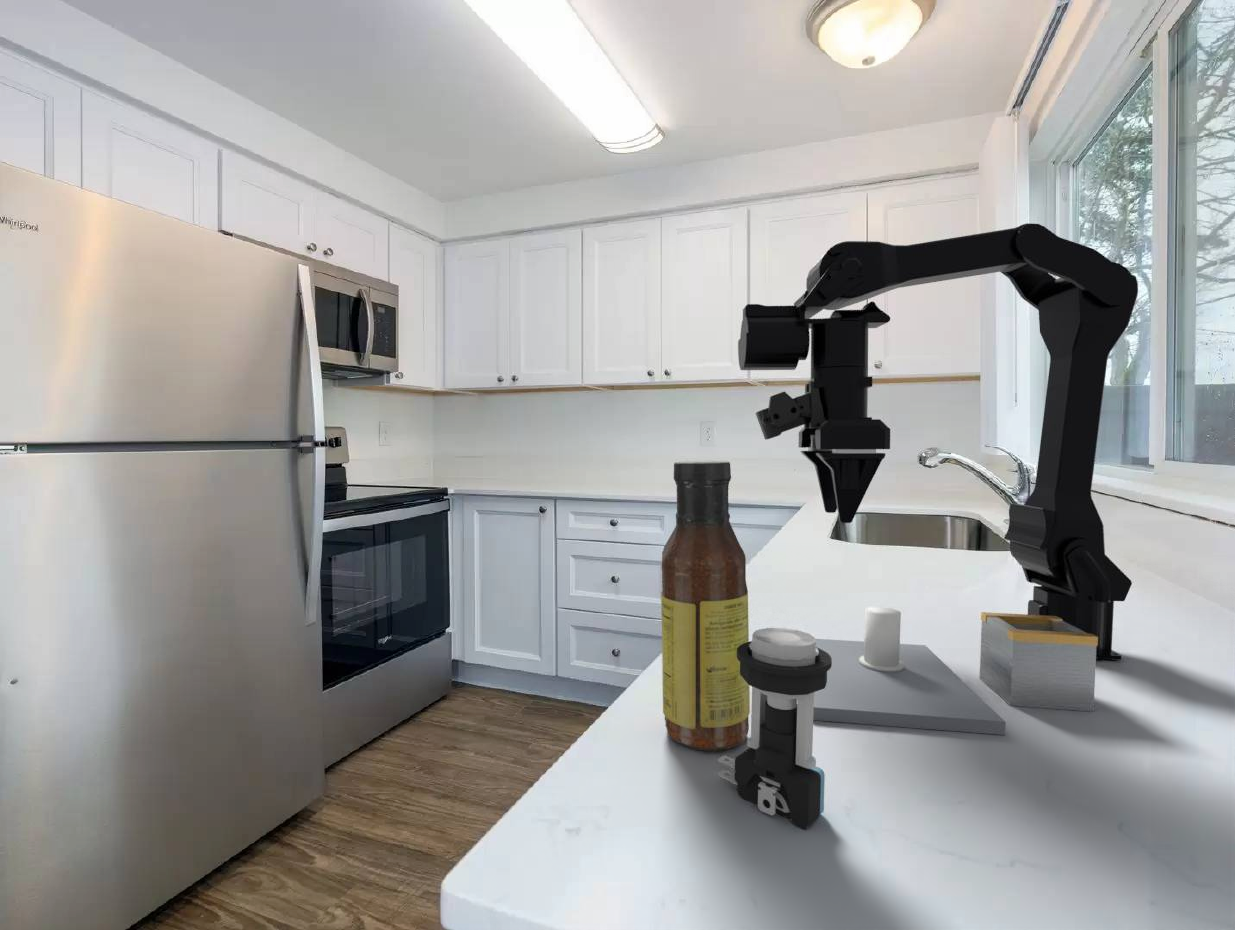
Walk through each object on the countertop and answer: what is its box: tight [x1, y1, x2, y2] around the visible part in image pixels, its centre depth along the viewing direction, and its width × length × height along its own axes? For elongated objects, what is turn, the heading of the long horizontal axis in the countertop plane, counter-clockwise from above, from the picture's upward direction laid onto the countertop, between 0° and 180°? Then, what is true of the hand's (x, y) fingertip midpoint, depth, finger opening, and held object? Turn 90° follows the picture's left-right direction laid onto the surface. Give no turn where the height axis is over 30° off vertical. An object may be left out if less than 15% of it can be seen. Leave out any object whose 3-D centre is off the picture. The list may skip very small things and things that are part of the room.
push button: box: [717, 627, 832, 830], centre depth 38 cm, size 7×5×10 cm
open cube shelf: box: [979, 611, 1098, 713], centre depth 55 cm, size 6×6×6 cm
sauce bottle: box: [660, 460, 751, 751], centre depth 46 cm, size 7×6×20 cm
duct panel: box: [813, 606, 1006, 736], centre depth 57 cm, size 14×18×6 cm
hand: (837, 517), depth 68 cm, fingers open, 9 cm apart
